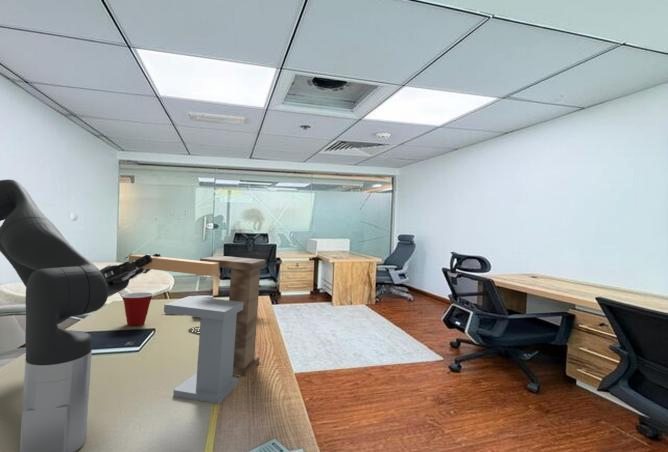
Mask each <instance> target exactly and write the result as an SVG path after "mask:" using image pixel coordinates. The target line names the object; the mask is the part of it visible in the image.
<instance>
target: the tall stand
mask: <svg viewBox="0 0 668 452" xmlns="http://www.w3.org/2000/svg"><path fill="white" fill-rule="evenodd" d="M199 261H206V262H216V263H219V268H222V269H223V268H224V269H230V279H229V283H230V284H229V294H228V295H229V297H228V300H230V301H238V302H244V303H243V310H241V311H240V312H238V313H237V318H236V333H235V348H234V363H233V376H238V377H246V376H247V375H248V374H249V373H250V372H251V371H252V370H253V369H254V368H255V367H256V366H257V364H259V363H260V356H256V355H255V354H256V342H257V341H256V340H257V339H256V338H257V337H256V336H257V326H258V307H259V293H260V292H259V291H260V280H261V279H260V278H261V268H263V267H266V264H267V263H266V261H267V260H266V259H262V258H261V259H260V258H251V257H250V258H249V257H237V256H230V255H229V256H226V255H225V256H224V255H214V256H213V255H212V256H208V257H202V258H201V257H200V259H199Z"/></svg>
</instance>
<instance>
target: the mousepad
mask: <svg viewBox="0 0 668 452" xmlns="http://www.w3.org/2000/svg"><path fill="white" fill-rule="evenodd" d="M192 328H194V327H191V328H189V329H187V330H188V331H189V332H188V333H190V332H192V330H193V329H192ZM195 331H196V332H195ZM197 332H200V329H199V331H198V329H195V328H194V331H193V333H197ZM193 333H192V334H193ZM198 334H199V335H200V333H197V334H196V335H198Z"/></svg>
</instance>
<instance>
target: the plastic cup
mask: <svg viewBox="0 0 668 452" xmlns="http://www.w3.org/2000/svg"><path fill="white" fill-rule="evenodd" d="M153 296H154V293H153V292H130V293H124V294H122V295H121V298H122V300H123V305H124V311H125V312H124V314H125V318H126V324H127V327H128V326H129V327H138V326H143V325H144V324H145V322H146V319H147V315H148V312H149V309H150V303H151V301H152V298H153Z"/></svg>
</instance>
